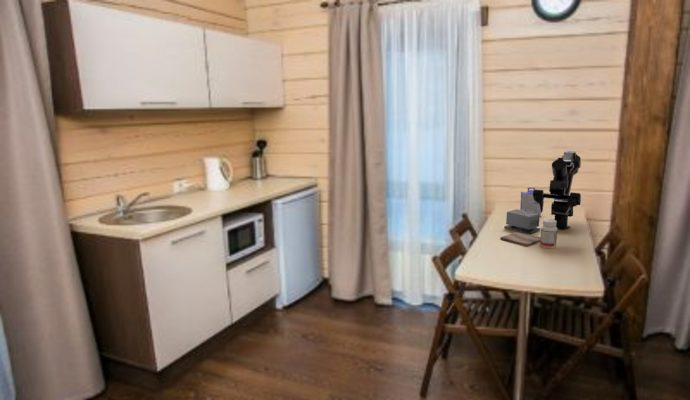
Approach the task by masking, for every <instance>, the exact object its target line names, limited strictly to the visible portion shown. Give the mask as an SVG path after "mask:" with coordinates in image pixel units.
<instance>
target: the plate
mask: <svg viewBox="0 0 690 400" xmlns="http://www.w3.org/2000/svg"><path fill="white" fill-rule="evenodd" d="M540 238H541V236H538V235H534V234H526V233H522V232H518V231H514V232H512V233H510V234H509V233H508V234H506V235H503V236H500V240H502V241H505V242H509V243H513V244H515V245H519V244H520V245H519V246H523V245H524V246H523V247H529V245H530V246H533V245H535V244H538V243H540ZM537 242H538V243H537ZM534 243H535V244H534ZM532 244H533V245H532Z"/></svg>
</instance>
